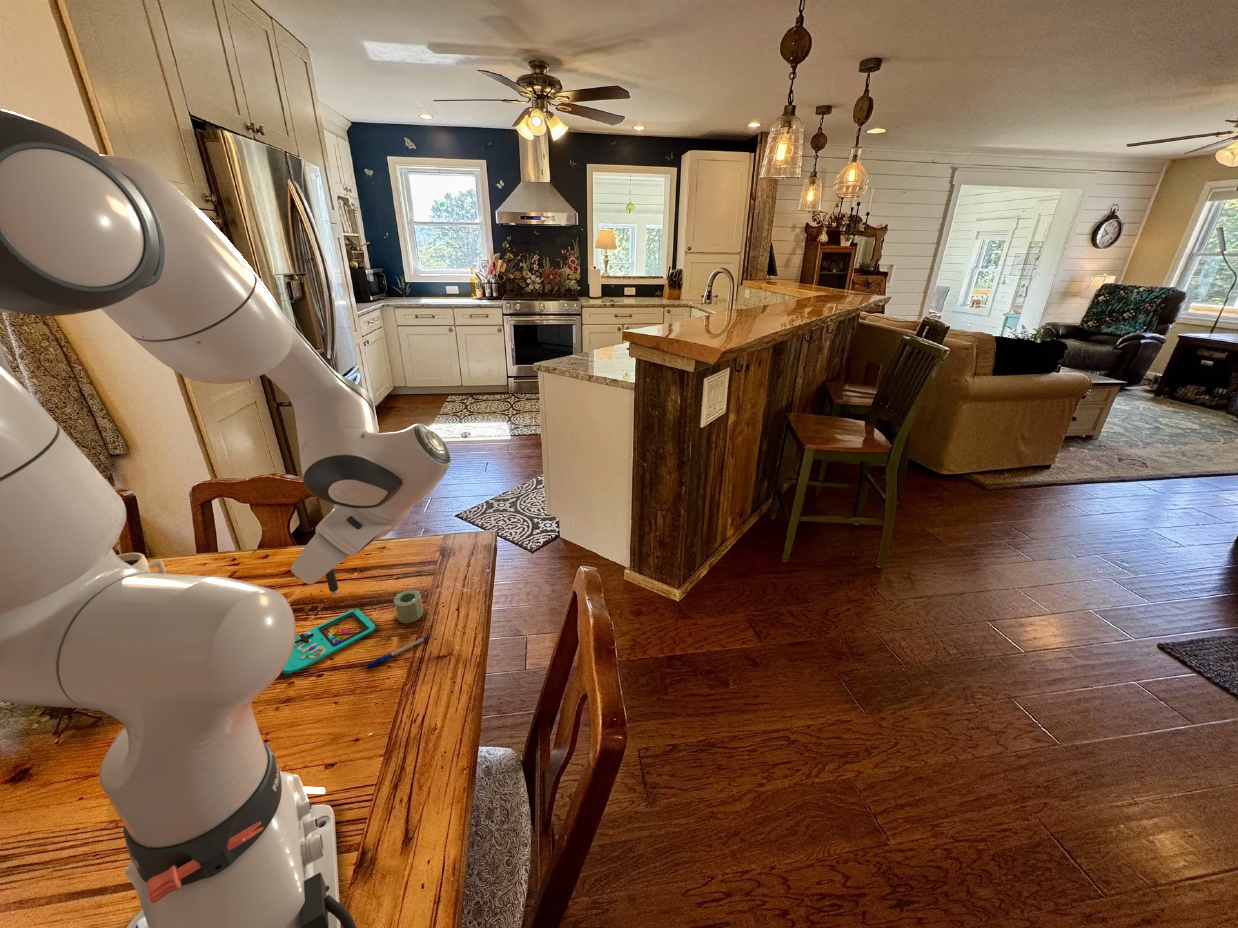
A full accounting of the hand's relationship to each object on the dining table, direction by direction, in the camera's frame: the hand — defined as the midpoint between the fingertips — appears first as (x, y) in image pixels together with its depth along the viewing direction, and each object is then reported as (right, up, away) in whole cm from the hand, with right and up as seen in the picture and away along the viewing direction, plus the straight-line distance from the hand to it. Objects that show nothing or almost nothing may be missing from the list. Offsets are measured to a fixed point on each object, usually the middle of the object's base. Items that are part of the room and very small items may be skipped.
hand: (322, 559), depth 79 cm
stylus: (0, -6, +3) cm, 7 cm away
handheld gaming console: (-5, -17, +9) cm, 19 cm away
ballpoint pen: (+9, -18, +7) cm, 21 cm away
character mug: (-41, -14, +13) cm, 45 cm away
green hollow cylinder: (+8, -14, +16) cm, 22 cm away
